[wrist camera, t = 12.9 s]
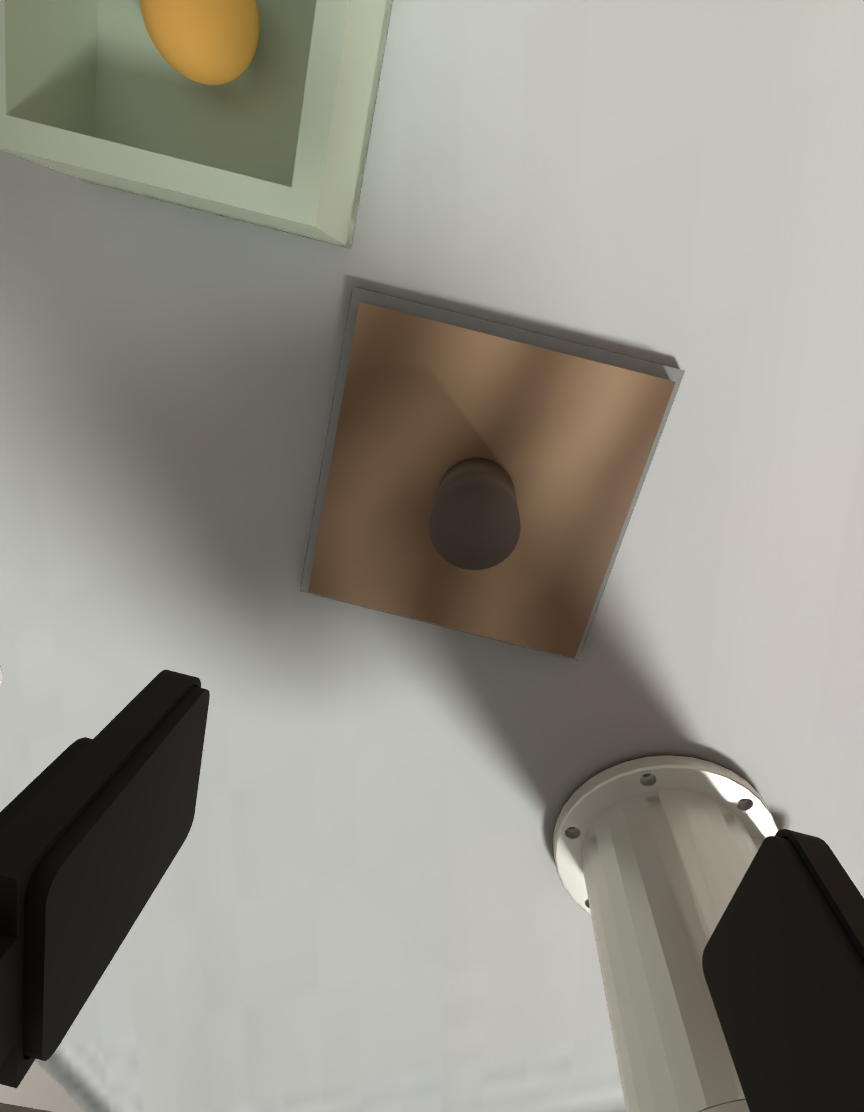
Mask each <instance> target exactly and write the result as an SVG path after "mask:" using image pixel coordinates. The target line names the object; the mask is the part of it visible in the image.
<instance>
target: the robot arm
mask: <svg viewBox="0 0 864 1112" xmlns="http://www.w3.org/2000/svg"><path fill="white" fill-rule="evenodd" d="M209 695H210V694H209V691H208V690H207V689H203V688H201V682H200V679H199V678H197V677H193V676H189V675H185V674H181V673H177V672H174V671H170V670H163V671H162V672H160V673H159V674H158V675H157V676H156V677H155V678H154V679H153V680H152V681H151V682H150V683H149V684H148V685H147V686H146V687H145V688H144V689H143V690H142V691H141V692H140V693H139V694H138V695H137V696H136V697H135V698H134V699H133V700H132V701H131V702H130V703H129V704H128V705H127V706H126V707H125V708H124V709H123V710H122V711H121V712H120V713H119V714H118V715H117V716H116V717H115V718H114V719H113V720H112V721H111V722H110V723H109V724H108V725H107V726H106V727H105V728H104V729H103V730H102V731H101V732H100V733H99V734H98V735H97V736H96V737H95V738H94V739H89V738H86V737H84V738H81V739H78V740H77V741H75V742H74V743H73V744H71V745H70V746H69V747H68V748H67V749H66V750H65V751H64V752H63V753H62V754H61V755H60V756H59V757H57V758H56V759H55V760H54V761H53V762H52V763H51V764H50V765H49V766H48V767H47V768H46V769H45V770H44V771H43V772H42V773H41V774H40V775H39V776H38V777H37V778H36V779H35V780H33V781H32V782H31V783H30V784H29V785H28V786H27V787H26V788H25V789H24V790H23V791H22V792H21V793H20V794H19V795H18V796H17V797H16V798H15V799H14V800H13V801H12V802H11V803H9V804H8V805H7V806H6V807H5V808H4V809H3V810H2V811H1V812H0V1084H3V1085H6V1086H10V1087H14V1088H17V1087H18V1086H19V1084H20V1082H21V1081H22V1079H23V1078H24V1076H25V1074H26V1073H27V1071H28V1070H29V1068H30V1067H31V1065H32V1063H33V1062H34V1060H35V1059H40V1060H44V1061H46V1060H47V1059H49V1058H50V1057H51V1056H52V1054H53V1053H54V1052H55V1050H56V1049H57V1047H58V1046H59V1044H60V1043H61V1041H62V1040H63V1038H64V1036H65V1035H66V1033H67V1031H68V1030H69V1028H70V1027H71V1025H72V1023H73V1022H74V1020H75V1018H76V1017H77V1015H78V1014H79V1012H80V1010H81V1009H82V1007H83V1005H84V1004H85V1002H86V1001H87V999H88V997H89V996H90V994H91V992H92V991H93V989H94V987H95V986H96V984H97V983H98V981H99V979H100V978H101V976H102V974H103V973H104V971H105V970H106V968H107V966H108V965H109V963H110V961H111V960H112V958H113V957H114V955H115V953H116V952H117V950H118V948H119V947H120V945H121V944H122V942H123V940H124V939H125V937H126V935H127V934H128V932H129V931H130V929H131V927H132V926H133V924H134V922H135V921H136V919H137V918H138V916H139V914H140V913H141V911H142V909H143V908H144V906H145V904H146V903H147V901H148V900H149V898H150V896H151V895H152V893H153V891H154V890H155V888H156V887H157V885H158V883H159V882H160V880H161V878H162V877H163V875H164V874H165V872H166V870H167V869H168V867H169V865H170V864H171V862H172V861H173V859H174V857H175V856H176V854H177V852H178V851H179V849H180V848H181V846H182V844H183V843H184V841H185V839H186V837H187V835H188V833H189V831H190V828H191V826H192V822H193V819H194V813H195V806H196V798H197V790H198V782H199V775H200V767H201V759H202V751H203V744H204V736H205V728H206V720H207V713H208V705H209ZM553 851H554V858H555V864H556V870H557V873H558V875H559V878H560V880H561V882H562V885H563V887H564V888H565V889H566V891H567V892H568V893H569V895H570V896H571V898H572V899H573V900H574V901H575V902H576V903H577V904H578V905H579V906H580V907H581V908H583V909H584V910H585V911H587V912H588V913H590V914H591V917H592V923H593V928H594V934H595V939H596V945H597V950H598V956H599V962H600V967H601V973H602V978H603V984H604V989H605V995H606V1000H607V1006H608V1012H609V1017H610V1023H611V1028H612V1034H613V1039H614V1045H615V1050H616V1056H617V1061H618V1067H619V1073H620V1078H621V1084H622V1089H623V1095H624V1100H625V1106H626V1111H627V1112H864V898H863V897H862V895H861V894H860V892H859V891H858V889H857V888H856V886H855V885H854V883H853V882H852V880H851V879H850V877H849V876H848V874H847V873H846V871H845V870H844V868H843V867H842V865H841V864H840V862H839V861H838V859H837V858H836V856H835V855H834V853H833V852H832V850H831V849H830V848H829V846H828V845H827V844H826V843H825V841H824V840H822V839H820V838H818V837H814V836H810V835H806V834H802V833H798V832H794V831H791V830H787V829H781V830H779V831H778V828H777V826H776V823H775V821H774V819H773V816H772V814H771V812H770V810H769V809H768V807H767V806H766V804H765V802H764V801H763V799H762V798H761V796H760V795H759V794H758V793H757V791H756V790H755V789H754V788H753V787H752V786H751V785H750V784H749V783H748V782H747V781H745V780H744V779H743V778H741V777H740V776H738V775H737V774H735V773H734V772H732V771H731V770H728V769H726V768H724V767H722V766H719V765H717V764H715V763H713V762H709V761H705V760H701V759H697V758H693V757H684V756H672V755H666V756H651V757H644V758H639V759H635V760H630V761H626V762H623V763H621V764H618V765H616V766H613V767H611V768H608V769H606V770H604V771H602V772H601V773H599V774H597V775H596V776H594V777H592V778H591V779H589V780H588V781H587V782H585V783H584V784H583V785H582V786H581V787H580V788H579V789H577V790H576V791H575V792H574V793H573V795H572V796H571V797H570V798H569V800H568V801H567V802H566V804H565V805H564V806H563V808H562V810H561V812H560V815H559V817H558V819H557V821H556V825H555V830H554V835H553ZM0 1112H51V1111H45V1110H39V1109H33V1108H27V1107H22V1106H15V1105H10V1104H3V1103H0Z"/></svg>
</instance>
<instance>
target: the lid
mask: <svg viewBox="0 0 864 1112" xmlns="http://www.w3.org/2000/svg"><path fill="white" fill-rule="evenodd" d="M675 383H676V382H675V381H671V380H667V379H663V378H659V377H655V376H651V375H647V374H643V373H639V372H636V371H632V370H628V369H624V368H620V367H616V366H612V365H608V364H604V363H600V362H596V361H592V360H588V359H584V358H580V357H576V356H572V355H568V354H564V353H560V352H556V351H552V350H549V349H545V348H541V347H537V346H533V345H529V344H525V343H521V342H517V341H513V340H509V339H505V338H501V337H497V336H493V335H489V334H485V333H481V332H477V331H473V330H469V329H465V328H461V327H458V326H454V325H450V324H446V323H442V322H438V321H434V320H430V319H426V318H422V317H418V316H414V315H410V314H406V313H402V312H398V311H394V310H390V309H386V308H382V307H378V306H374V305H370V304H367V303H363V302H359V308H358V313H357V319H356V324H355V330H354V336H353V341H352V347H351V352H350V358H349V364H348V369H347V375H346V380H345V386H344V392H343V397H342V403H341V408H340V414H339V420H338V425H337V431H336V436H335V442H334V448H333V453H332V459H331V465H330V470H329V476H328V481H327V487H326V493H325V498H324V504H323V509H322V515H321V521H320V526H319V532H318V537H317V543H316V549H315V554H314V560H313V565H312V571H311V577H310V582H309V588H308V592H311V593H315V594H319V595H323V596H327V597H331V598H335V599H339V600H343V601H347V602H351V603H355V604H359V605H363V606H367V607H371V608H375V609H379V610H383V611H387V612H391V613H395V614H399V615H403V616H407V617H411V618H415V619H419V620H423V621H427V622H431V623H435V624H439V625H443V626H447V627H451V628H455V629H459V630H463V631H467V632H471V633H475V634H479V635H483V636H487V637H491V638H495V639H499V640H503V641H507V642H511V643H515V644H519V645H522V646H526V647H530V648H534V649H538V650H542V651H546V652H550V653H554V654H558V655H562V656H566V657H570V658H574V659H575V656H576V653H577V650H578V648H579V645H580V642H581V640H582V637H583V634H584V631H585V629H586V626H587V623H588V620H589V618H590V615H591V612H592V610H593V607H594V604H595V601H596V599H597V596H598V593H599V590H600V588H601V585H602V582H603V580H604V577H605V574H606V571H607V569H608V566H609V563H610V560H611V558H612V555H613V552H614V550H615V547H616V544H617V541H618V539H619V536H620V533H621V530H622V528H623V525H624V522H625V520H626V517H627V514H628V511H629V509H630V506H631V503H632V500H633V498H634V495H635V492H636V490H637V487H638V484H639V481H640V479H641V476H642V473H643V470H644V468H645V465H646V462H647V460H648V457H649V454H650V451H651V449H652V446H653V443H654V440H655V438H656V435H657V432H658V430H659V427H660V424H661V421H662V419H663V416H664V413H665V410H666V408H667V405H668V402H669V400H670V397H671V394H672V391H673V389H674V386H675Z"/></svg>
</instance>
